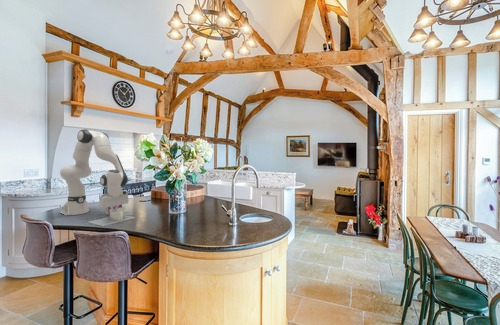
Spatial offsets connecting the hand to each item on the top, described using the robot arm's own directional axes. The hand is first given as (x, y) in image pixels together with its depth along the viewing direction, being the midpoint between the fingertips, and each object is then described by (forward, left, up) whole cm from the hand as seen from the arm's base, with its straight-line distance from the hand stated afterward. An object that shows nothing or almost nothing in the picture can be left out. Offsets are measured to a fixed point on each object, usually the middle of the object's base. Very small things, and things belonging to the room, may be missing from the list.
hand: (114, 211), depth 185 cm
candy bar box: (-21, +13, -7) cm, 26 cm away
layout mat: (-3, +1, -7) cm, 8 cm away
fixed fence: (-7, +7, -7) cm, 12 cm away
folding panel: (0, +2, -6) cm, 6 cm away
